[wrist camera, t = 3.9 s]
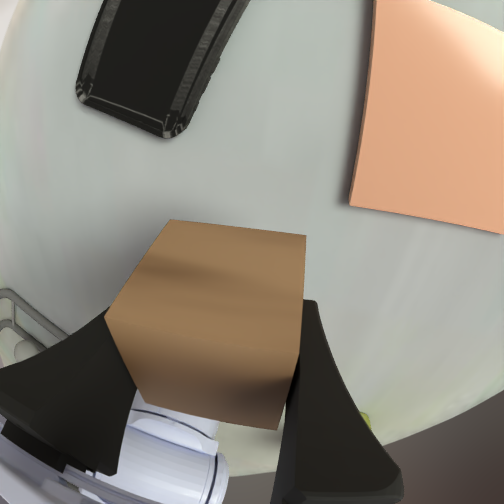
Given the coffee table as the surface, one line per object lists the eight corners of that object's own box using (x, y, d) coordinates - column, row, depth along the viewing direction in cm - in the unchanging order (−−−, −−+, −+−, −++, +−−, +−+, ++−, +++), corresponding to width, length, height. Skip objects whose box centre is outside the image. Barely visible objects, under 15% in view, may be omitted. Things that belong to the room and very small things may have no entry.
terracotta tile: (507, 230, 16) (512, 236, 15) (348, 198, 17) (349, 205, 16) (549, 64, 9) (557, 66, 8) (373, -12, 10) (377, -15, 9)
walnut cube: (289, 328, 14) (277, 430, 10) (183, 312, 14) (145, 403, 10) (306, 235, 11) (298, 353, 7) (170, 219, 11) (103, 316, 7)
